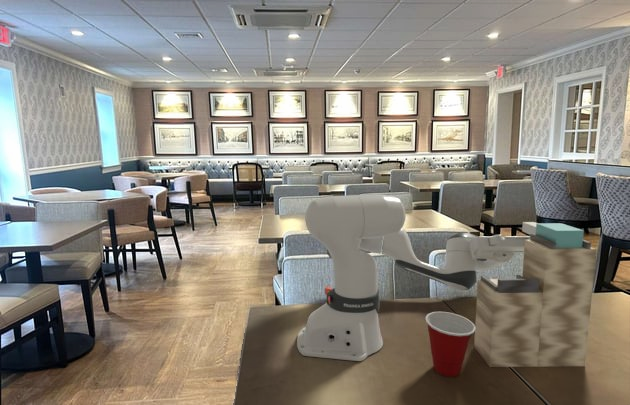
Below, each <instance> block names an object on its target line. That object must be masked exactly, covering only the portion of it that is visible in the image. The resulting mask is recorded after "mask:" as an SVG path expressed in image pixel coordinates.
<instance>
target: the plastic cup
mask: <svg viewBox="0 0 630 405" xmlns="http://www.w3.org/2000/svg"><path fill="white" fill-rule="evenodd" d="M424 319H425V322H426V324H427V329H428V330H427V331H428V335H429V344H430V353H431V355H432V356H431V357H432V364H433V368H434V371H435V372H436V373H437V374H439V375H441V376H445V377H450V378H451V377H457V376H458V375H460V373H461V371H462V367H463V365H464V364H463V363H464V360H465V357H466V354H467V348H468V345H469V342H470V339H471V337H472V335H473V334H475V329H476V327H475V323H474V322H472V321H471V320H470V319H468V318H467V317H464V316H463V315H460V314H456V313H454V312H447V311H432V312H430V313H427V314H426V316H425V318H424Z"/></svg>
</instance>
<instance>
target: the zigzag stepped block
mask: <svg viewBox="0 0 630 405" xmlns="http://www.w3.org/2000/svg"><path fill="white" fill-rule="evenodd" d="M556 245H557V243H556V242H553V241H551V240H549V239H546V238H544V237H541V236H539V235H536V234H531V238H530V240H525V247H524V253H523V262H522V274H521V275H520V274H517V275H516V278H488V277H487V276H486V275H480V279H478V278H477V287H476V290H477V291H476V303H475V304H476V305H475V306H476V307H475V308H476V309H475V323H474V325H475V327H476V329H475V331H474V344H473V347H474V349H475V350H476V351H477V353H479V355H480V357H481V358H482V359H483V360H484V362H485V363H486V364H487V365H488V366H489V368H491V367H492V368H514V367H515V368H522V367H523V368H524V367H526V368H528V367H530V368H532V367H533V368H534V367H586V359H587V358H586V356H587V347H588V336H589V330H590V329H589V328H590V317H591V308H592V306H591V305H592V297H593V296H592V295H593V287H594V278H595V269H596V268H595V267H596V266H595V265H596V258H597V248H595V247H592V242H590V241H588V240H585V239H583V244H582V248H556Z"/></svg>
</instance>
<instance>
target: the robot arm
mask: <svg viewBox="0 0 630 405" xmlns="http://www.w3.org/2000/svg"><path fill="white" fill-rule="evenodd" d="M404 206H405V205H404V204H403V202H402V201H401V200H400V199H399V198H398V197H397V196H393V195H388V194H381V193H373V194H372V193H371V194H370V193H369V194H350V195H348V194H347V195H330V196H325V197H321V198H316V199H314V200H312V201H311V202H310V204H309V205H308V206H307V209H306V210H305V211H306V212H305V217H304V220H305V222H304V223H305V226H306V228H307V230H308V232H309V234H310V235H311V236H312V237H313V238H315V239H316V240H317V241H319V242H320V243H321V244H322V245H323V246H324V248H326V253H327V256H328V257H329V258H330V259H331V262H332V269H333V280H334V282H333V283H334V286H333V288H332V287H331V286H325V288H324V294H325V295H326V297H325V298H326V299H325V300H326V302H325V303H324V304H323V305H321V306H319V307H318V308H317V309H315V310H314V311H312V312H311V313H310V314H309V317H308V318H307V322H306V323H305V324H306V325H305V326H304V327H303V328H302V329H300V330H299V332H298V334H297V338H296V347H297V351H299V353H300V354H301V355H302V356H304V357H305V356H306V357H314V358H315V357H316V358H323V359H335V360H342V361H343V360H344V361H345V360H346V361H354V362H355V361H356V362H362V361H364V360H365V359H366V358H367V357H368V356H370V355H372V354H375V353H377V352H378V351H380V350H381V349H382V347H383V345H384V340H383V338H382V332H381V329H380V321H379V311H380V310H379V309H380V291H379V289H378V271H379V269H378V266H379V265H378V263H377V260H376V258H374V257H373V255H371V254H370V253H373V254H379V255H384V256H387V257H389V258H390V259H391V260H393V261H394V262H395V265H396V266H397V267H398V268H401V270H402V269H403V270H404V271H407V272H409V273H413V274H416V275H418V276H420V277H423V278H427V279H430V280H433V281H436V282H438V283H441V284H443V285H444V286H445V285H446V286H448V287H450V288H452V289H455V290H458V291H459V290H460V291H468V290H470V289H472V287H474V286H475V284H476V283H478V278H477V271H478V272H486V271H489V270H493V269H495V268H497V267H498V266H501V265H504V264H506V263H507V262H510V260H512V259H513V258H514V256H515V254H524V247H525V240H530V238H531V235H530V234H529V235H517V236H516V235H513V236H512V235H509V236H507V235H506V236H505V234H494V235H492V236H478V235H475V234H473V233H468V232H459V233H456V234H453V235H451V236H450V237H448V238H447V239H446V248H445V261H444V262H445V263H444V268H441V267H438V266H435V265H434V264H433V265H432V264H429V263H426V262H424V261H421V260H420V259H418V258H417V256H416V255H415V252H414V249H413V247H412V243H411V239H410V236H409V235H408V233H407V231H406V230H405V229H404V228H403V227H404V225H405V222H406V214H407V213H406V210H405V207H404ZM368 252H369V253H368Z"/></svg>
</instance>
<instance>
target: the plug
mask: <svg viewBox="0 0 630 405" xmlns="http://www.w3.org/2000/svg"><path fill="white" fill-rule="evenodd" d="M521 232H523V233H525V234H527V235H529V236H530V235H531V234H536V235H539V236H541V237H544V238H546V239H549V240H551V241H553V242H556V243H557V245H556V248H582V244H583V240H584V233H585V231H584V229H581V228H577V227H574V226H571V225H567V224H564V223H559V222H557V223H554V222H553V223H552V222H551V223H549V222H547V223H546V222H545V223H543V222H541V223H538V222H535V221H523V222H522V230H521Z"/></svg>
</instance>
